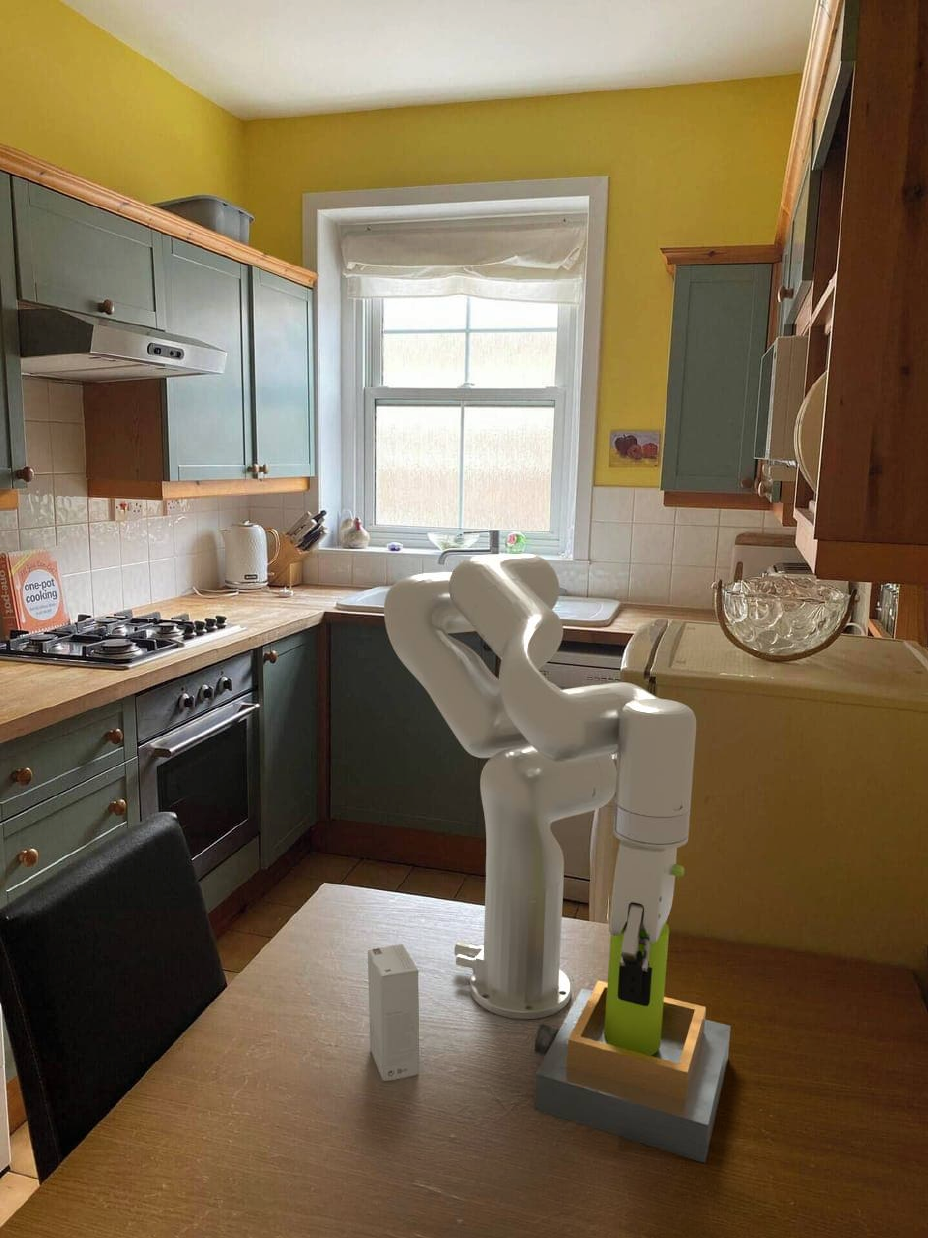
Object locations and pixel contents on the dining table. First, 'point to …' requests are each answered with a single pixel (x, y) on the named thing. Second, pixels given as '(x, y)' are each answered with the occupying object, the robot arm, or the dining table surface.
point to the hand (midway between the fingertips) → (640, 983)
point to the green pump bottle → (630, 1020)
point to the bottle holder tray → (635, 1076)
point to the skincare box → (393, 1012)
